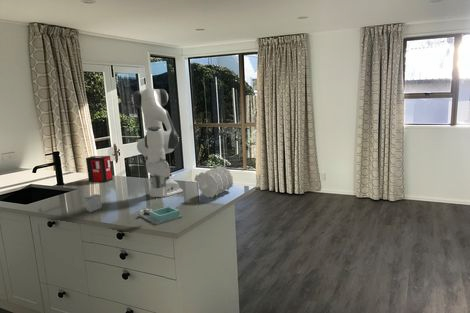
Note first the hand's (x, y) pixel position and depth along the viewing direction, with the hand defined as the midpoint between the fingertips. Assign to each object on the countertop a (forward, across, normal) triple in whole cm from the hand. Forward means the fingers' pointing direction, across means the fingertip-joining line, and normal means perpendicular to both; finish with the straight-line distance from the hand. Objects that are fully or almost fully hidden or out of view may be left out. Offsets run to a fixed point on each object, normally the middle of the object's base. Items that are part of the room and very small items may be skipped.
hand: (159, 182), depth 194 cm
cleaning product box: (+19, +125, -10) cm, 127 cm away
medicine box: (+20, +47, +21) cm, 55 cm away
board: (+20, +3, 0) cm, 20 cm away
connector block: (+2, 0, 0) cm, 2 cm away
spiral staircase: (+19, +16, -48) cm, 54 cm away
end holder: (+20, -1, -1) cm, 20 cm away
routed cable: (+19, +9, +2) cm, 21 cm away
